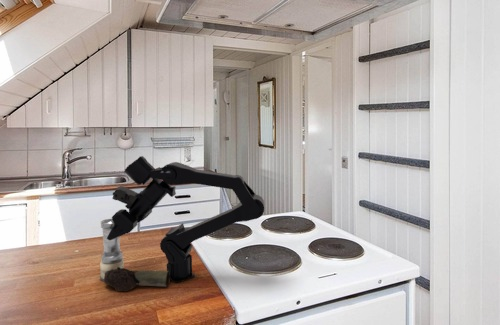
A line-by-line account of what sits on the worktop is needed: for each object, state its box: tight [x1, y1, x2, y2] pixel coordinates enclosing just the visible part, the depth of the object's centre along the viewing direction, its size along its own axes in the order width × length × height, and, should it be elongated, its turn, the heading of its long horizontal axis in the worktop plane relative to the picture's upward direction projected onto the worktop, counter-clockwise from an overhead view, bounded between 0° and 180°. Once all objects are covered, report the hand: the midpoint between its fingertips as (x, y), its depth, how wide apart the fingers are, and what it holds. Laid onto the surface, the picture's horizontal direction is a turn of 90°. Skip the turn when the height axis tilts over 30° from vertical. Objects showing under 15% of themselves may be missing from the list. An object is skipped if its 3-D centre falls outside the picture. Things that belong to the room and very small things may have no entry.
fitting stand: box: [99, 258, 125, 283], centre depth 101 cm, size 7×7×5 cm
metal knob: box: [100, 218, 124, 265], centre depth 100 cm, size 6×6×12 cm
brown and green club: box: [103, 267, 170, 293], centre depth 95 cm, size 18×7×6 cm, turn 90°
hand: (114, 234), depth 100 cm, fingers open, 9 cm apart
